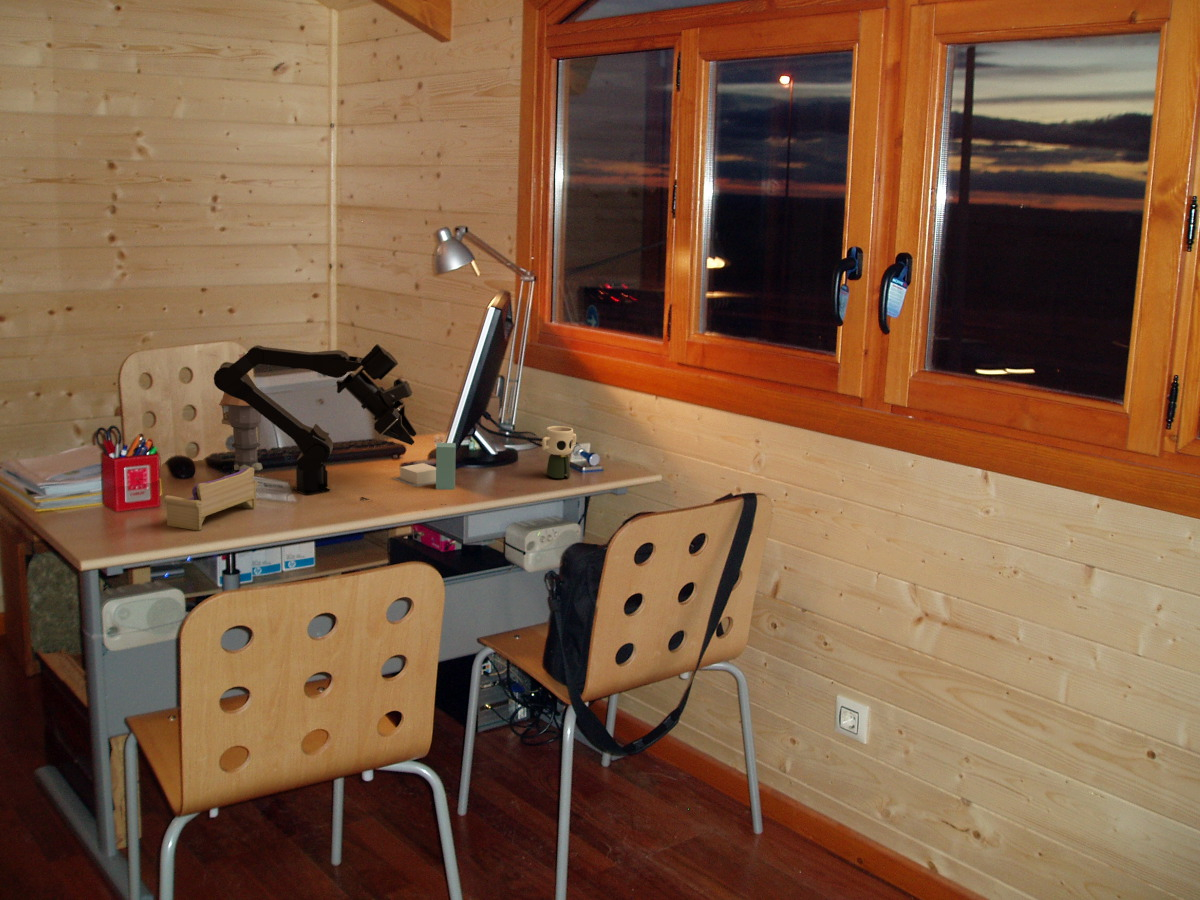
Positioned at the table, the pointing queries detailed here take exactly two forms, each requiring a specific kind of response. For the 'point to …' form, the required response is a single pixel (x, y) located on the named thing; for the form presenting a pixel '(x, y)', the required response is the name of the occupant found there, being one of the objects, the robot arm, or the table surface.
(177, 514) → the toy sofa
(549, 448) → the character mug
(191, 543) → the table surface
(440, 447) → the teal column brick
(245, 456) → the model tower
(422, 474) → the cream slab brick
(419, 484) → the grey baseplate
